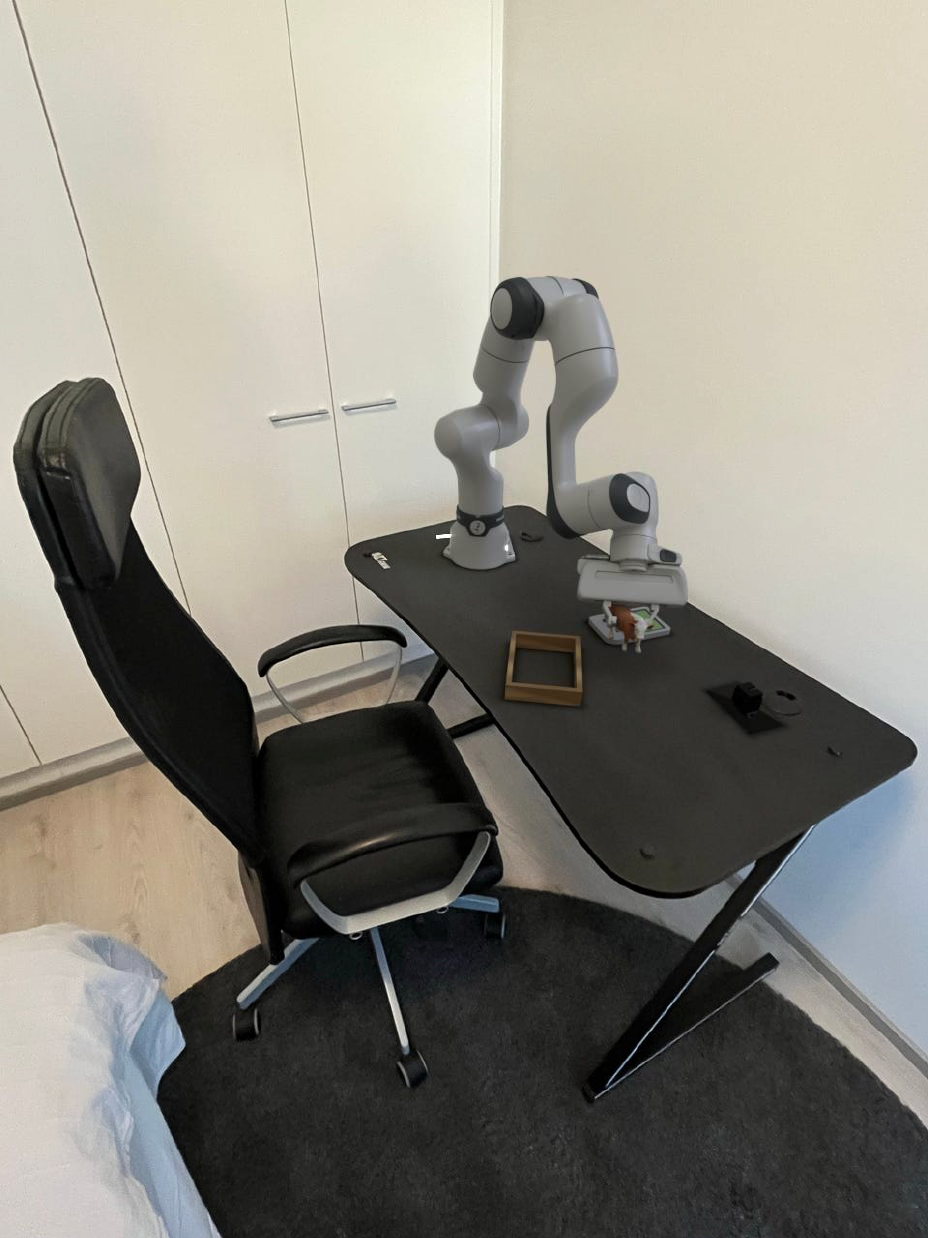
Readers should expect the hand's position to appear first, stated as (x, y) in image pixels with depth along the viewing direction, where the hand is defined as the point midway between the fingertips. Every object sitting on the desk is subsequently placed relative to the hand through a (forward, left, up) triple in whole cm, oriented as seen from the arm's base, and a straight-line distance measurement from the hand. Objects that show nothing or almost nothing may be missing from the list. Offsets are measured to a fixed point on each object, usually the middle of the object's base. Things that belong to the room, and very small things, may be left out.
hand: (629, 627), depth 120 cm
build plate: (+6, +22, -12) cm, 26 cm away
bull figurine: (-1, 0, -5) cm, 5 cm away
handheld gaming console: (-18, +3, -12) cm, 21 cm away
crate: (+1, -15, -11) cm, 19 cm away
